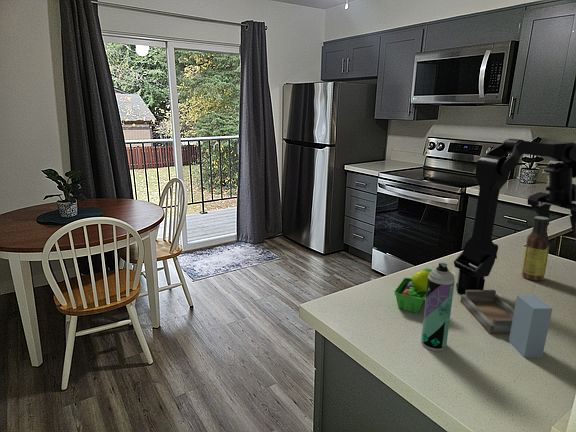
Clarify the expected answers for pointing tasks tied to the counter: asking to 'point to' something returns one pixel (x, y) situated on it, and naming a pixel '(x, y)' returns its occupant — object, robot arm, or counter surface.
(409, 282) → the fruit basket
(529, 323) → the blue-grey rectangular block
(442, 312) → the spray can
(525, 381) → the counter surface
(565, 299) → the counter surface
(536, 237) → the sauce bottle
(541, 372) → the counter surface
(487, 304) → the shallow grey tray
